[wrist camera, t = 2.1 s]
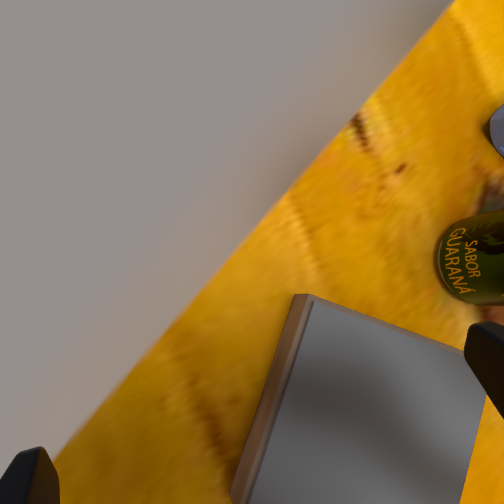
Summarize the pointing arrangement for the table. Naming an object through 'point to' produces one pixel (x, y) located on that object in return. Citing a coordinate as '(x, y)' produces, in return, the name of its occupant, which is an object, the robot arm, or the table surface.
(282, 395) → the gray plinth
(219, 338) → the table surface
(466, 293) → the beer can
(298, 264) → the table surface
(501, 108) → the decorative dice
